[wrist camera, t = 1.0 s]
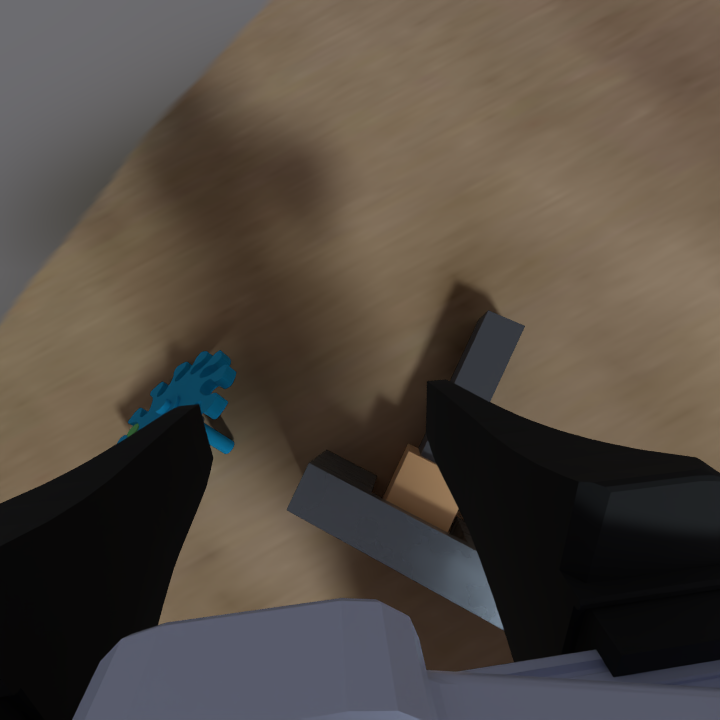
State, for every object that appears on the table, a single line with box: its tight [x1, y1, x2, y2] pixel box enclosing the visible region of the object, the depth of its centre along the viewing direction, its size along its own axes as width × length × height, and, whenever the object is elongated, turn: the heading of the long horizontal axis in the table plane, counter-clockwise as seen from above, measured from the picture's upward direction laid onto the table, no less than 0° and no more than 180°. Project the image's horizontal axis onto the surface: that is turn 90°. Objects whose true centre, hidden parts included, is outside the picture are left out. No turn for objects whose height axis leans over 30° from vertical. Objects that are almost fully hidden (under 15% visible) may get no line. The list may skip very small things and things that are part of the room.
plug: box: [383, 311, 525, 532], centre depth 24 cm, size 15×4×4 cm, turn 155°
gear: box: [117, 350, 236, 454], centre depth 25 cm, size 11×6×10 cm
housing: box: [287, 450, 504, 630], centre depth 23 cm, size 14×3×5 cm, turn 65°
